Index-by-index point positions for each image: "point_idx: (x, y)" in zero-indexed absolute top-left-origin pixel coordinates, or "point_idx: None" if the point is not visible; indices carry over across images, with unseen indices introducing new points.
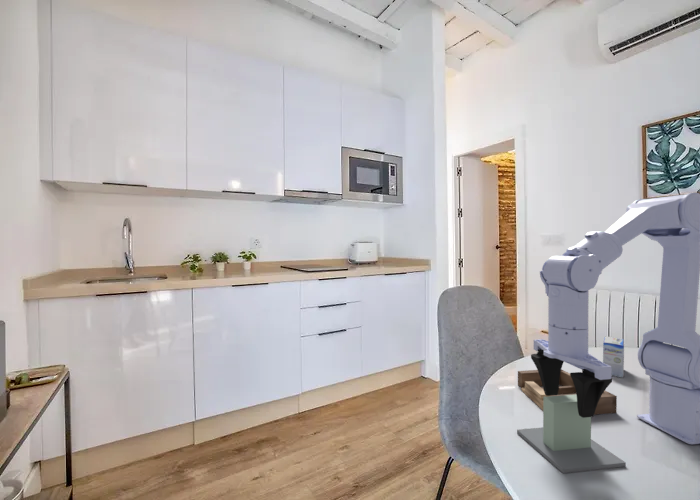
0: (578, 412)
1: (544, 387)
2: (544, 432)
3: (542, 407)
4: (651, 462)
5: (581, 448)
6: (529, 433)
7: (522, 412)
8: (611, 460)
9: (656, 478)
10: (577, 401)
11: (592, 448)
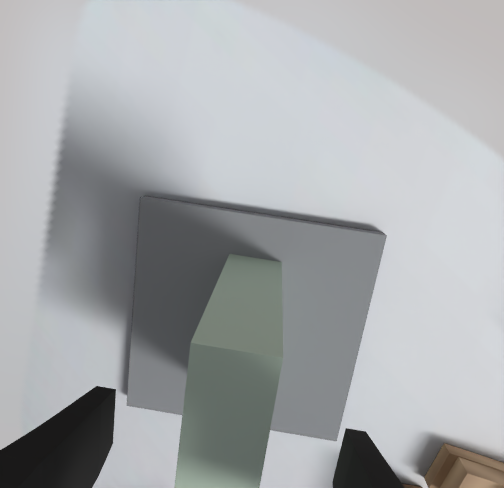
0: (105, 394)
1: (369, 458)
2: (274, 275)
3: (476, 459)
4: (130, 472)
5: None
6: (347, 261)
7: (493, 370)
8: (142, 378)
9: None
10: (66, 432)
11: None
